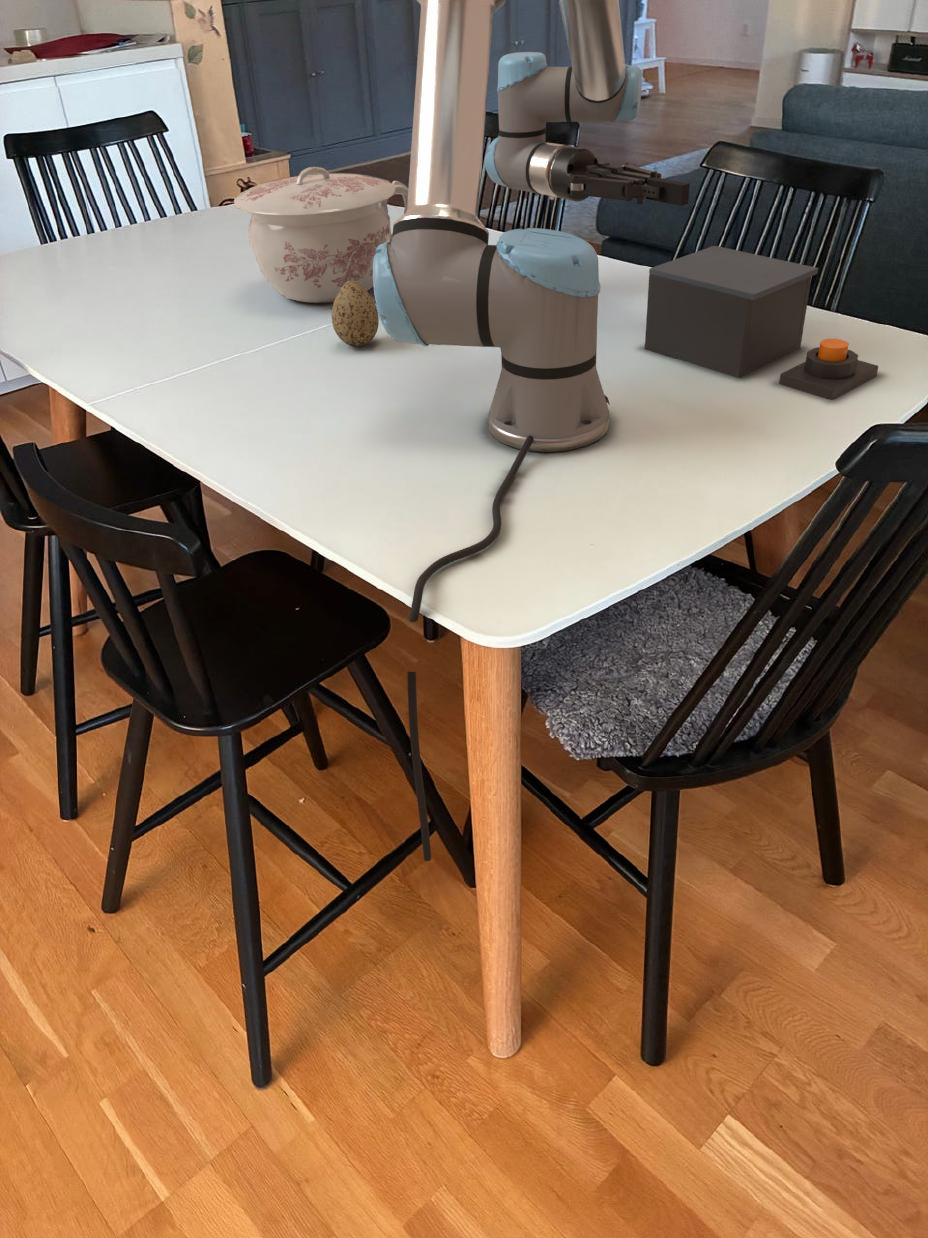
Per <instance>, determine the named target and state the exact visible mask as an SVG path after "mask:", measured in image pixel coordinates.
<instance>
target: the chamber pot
mask: <svg viewBox="0 0 928 1238" xmlns="http://www.w3.org/2000/svg"><path fill="white" fill-rule="evenodd" d="M408 189H409V187H408V186H407V185H406V184H404V183H402V182H401V181H398V180H393V181H392V182H390V181H389V180H388V179H384V178H381V177H378V176H372V175H369V174H361V173H352V172H351V173H350V172H349V173H347V172H346V173H345V172H329V171H328V170H327V169H325V168H324V167H319V166H310V167H307V168H304V169H302V170H301V171H300V173H299V175H294V176H288V177H283V178H277V179H274V180H269V181H266V182H263V183H259V184H257V185H255V186H252V187H251V188H248V189H246V190H244V191H242V192H240V193H238V195H237V196H236V197H235V198H234V200H233V203H234V205H235V207H236V208H237V209H238V210H241V211H243V212H246V213H248V214H251V218H250V220H249V224H248V226H247V235H248V240H249V245H250V248H251V250H252V253H253V256H254V259H255V261H256V264H257V267H258V269H259V271H260V273H261V274H262V275H263V276H264V278H265V279H266V280H267V282H268V283H269V284H270V285H271V286H272V287H273V288H274V290H275V291H276V292H277V293H278V294H280V295H281V296H283V297H285V298H287V299H288V300H294V301H297V302H302V303H307V304H331V303H334V300H335V298H336V296H337V294H338V292H339V290H340V289H341V288H342V286H343V285H344V284H345V283H346V282H348V281H356V282H357V283H359V284H360V285H361V286H362V287H364V288H365V289H366V291H367V292H369V291H370V290H371V289H372V288H374V287H373V259H374V256H375V255H376V249H377V247H378V246H379V245H380V244H384V243H385V242H391V243H392V236H393V232H392V226H391V225H392V224H391V216H390V215H389V208H388V200H389V199H390V198H391V197H393V196H395V195H401V196H402V199H403V205H404V209H403V215H404V214H405V212H406V211H407V203H408Z"/></svg>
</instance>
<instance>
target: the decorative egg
mask: <svg viewBox="0 0 928 1238" xmlns="http://www.w3.org/2000/svg"><path fill="white" fill-rule="evenodd" d="M332 303H333V304H332V307H331V322H332V323H331V324H332V327H333V330H334V331H335V334H336V335H337V337H338V339H340V340H341V341H342V342H343V343H344V344H346V345H348V346H350V347H356V348H357V347H364V346H366V345H368V344H369V343H370V342H371V341H372V340H373V339H374V338H375V337H376V335H377V332H378V329H379V325H380V323H379V321H380V316H379V313H378V309H377V305H376V302H375V301H374V299H373V297H372V296H371V294H370V293H369V291H366V289H365V288H364V287H362V286H361V285H360V284H359V283H357V282H356V281H348V282H346V283H345V284H344V285H343V286H342V288H341V289H340V290H339V292H338V294H337V296H336V298H335V300H334V302H332Z"/></svg>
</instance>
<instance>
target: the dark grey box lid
mask: <svg viewBox="0 0 928 1238" xmlns="http://www.w3.org/2000/svg"><path fill="white" fill-rule="evenodd" d="M648 270H649V271H648V275H650V274H651V275H655V276H659V277H663V278H667V279H671V280H675V281H679V282H683V283H687V284H691V285H695V286H699V287H703V288H707V289H711V290H715V291H719V292H723V293H727V294H731V295H735V296H739V297H742V298H746V299H750V300H755V299H758V298H760V297H763V296H765V295H767V294H770V293H772V292H775V291H777V290H779V289H782V288H784V287H787V286H789V285H791V284H794V283H796V282H799V281H801V280H803V279H806V278H808V277H811V276H812V277H813V276H815V275H818V273H819V267H815V266H811V265H807V264H801V263H797V262H792V261H786V260H783V259H778V258H775V257H768V256H764V255H760V254H756V253H750V252H746V251H741V250H737V249H732V248H727V247H722V246H719V245H711V246H709V247H706V248H704V249H701V250H698V251H695V252H692V253H689V254H687V255H684V256H681V257H678V258H675V259H673V260H669V261H667V262H664V263H661V264H659V265H656V266H653V267H650V268H649V269H648Z"/></svg>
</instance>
